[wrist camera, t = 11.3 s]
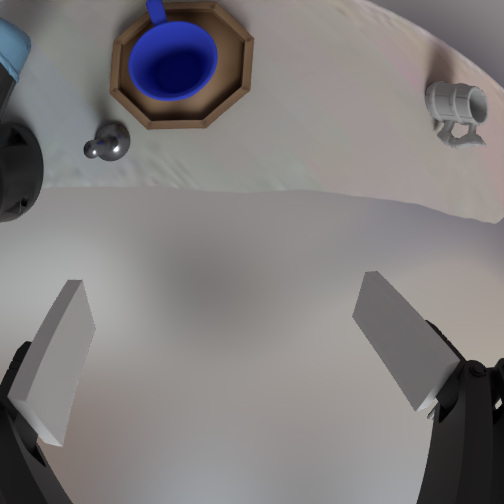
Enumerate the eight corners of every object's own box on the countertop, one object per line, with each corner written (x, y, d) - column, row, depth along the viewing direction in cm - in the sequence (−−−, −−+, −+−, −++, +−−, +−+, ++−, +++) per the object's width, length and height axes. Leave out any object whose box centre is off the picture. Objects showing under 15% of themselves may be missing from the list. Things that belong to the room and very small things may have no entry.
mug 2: (452, 89, 37) (501, 94, 26) (445, 147, 42) (494, 162, 31) (425, 74, 35) (476, 75, 25) (418, 137, 40) (469, 150, 30)
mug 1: (193, 13, 26) (193, -20, 17) (221, 92, 32) (229, 83, 23) (131, 35, 26) (109, 10, 17) (157, 115, 32) (142, 114, 23)
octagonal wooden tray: (116, 131, 33) (108, 132, 30) (125, 15, 26) (119, 7, 22) (243, 128, 36) (247, 129, 33) (251, 14, 29) (256, 5, 26)
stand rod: (96, 161, 34) (73, 173, 27) (95, 126, 32) (71, 129, 25) (130, 159, 35) (113, 170, 28) (130, 122, 33) (112, 124, 25)
